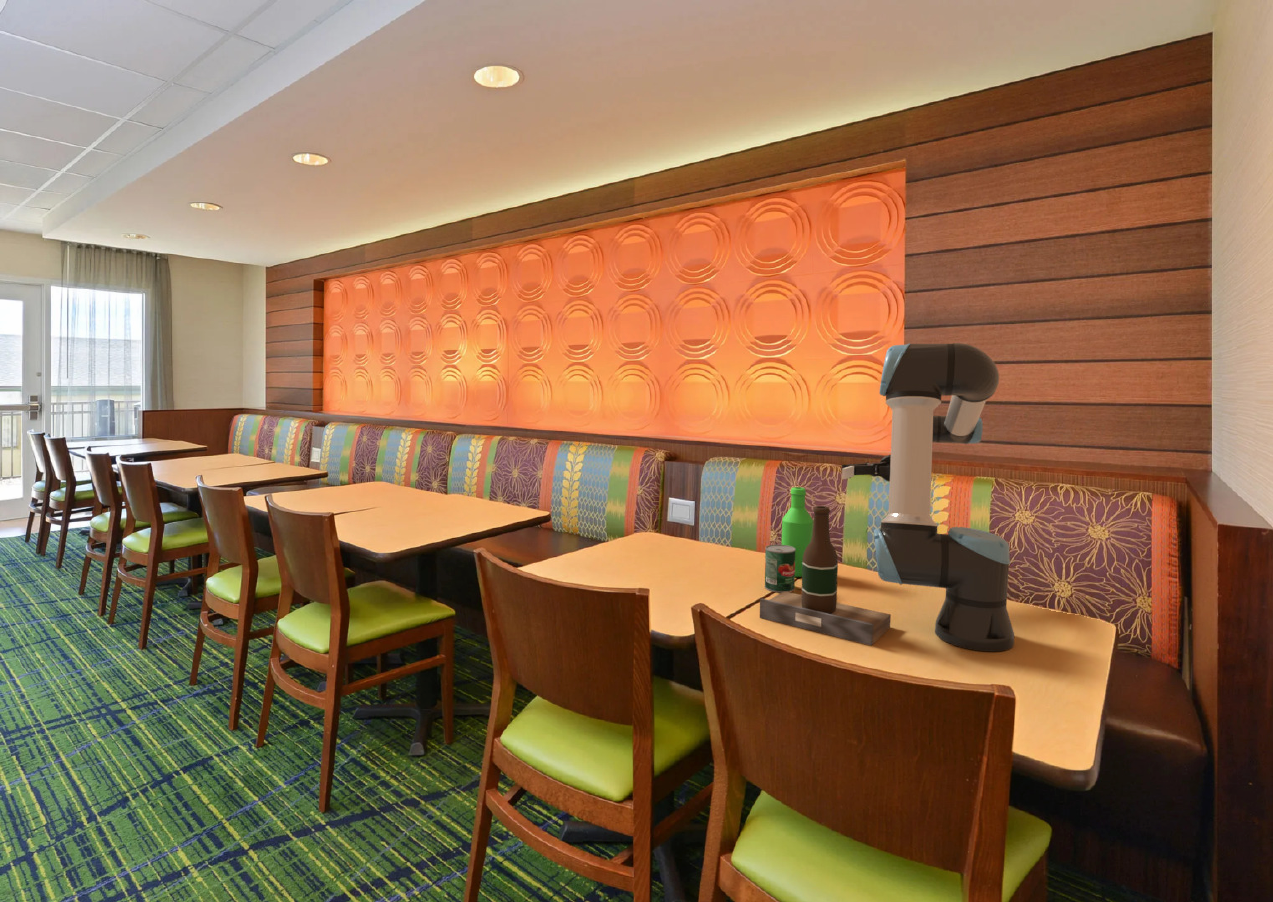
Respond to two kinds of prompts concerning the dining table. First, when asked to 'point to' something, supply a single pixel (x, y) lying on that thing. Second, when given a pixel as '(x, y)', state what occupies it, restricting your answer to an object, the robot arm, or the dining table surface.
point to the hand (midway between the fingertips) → (870, 476)
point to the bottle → (797, 527)
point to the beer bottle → (820, 567)
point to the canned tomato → (780, 568)
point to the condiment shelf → (827, 618)
